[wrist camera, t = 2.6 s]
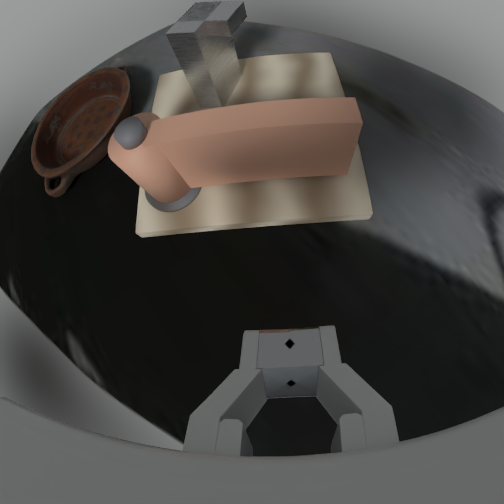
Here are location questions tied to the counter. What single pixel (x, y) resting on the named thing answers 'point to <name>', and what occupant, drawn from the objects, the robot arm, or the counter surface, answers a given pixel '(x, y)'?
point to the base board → (264, 191)
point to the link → (237, 144)
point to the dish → (80, 126)
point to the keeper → (209, 49)
